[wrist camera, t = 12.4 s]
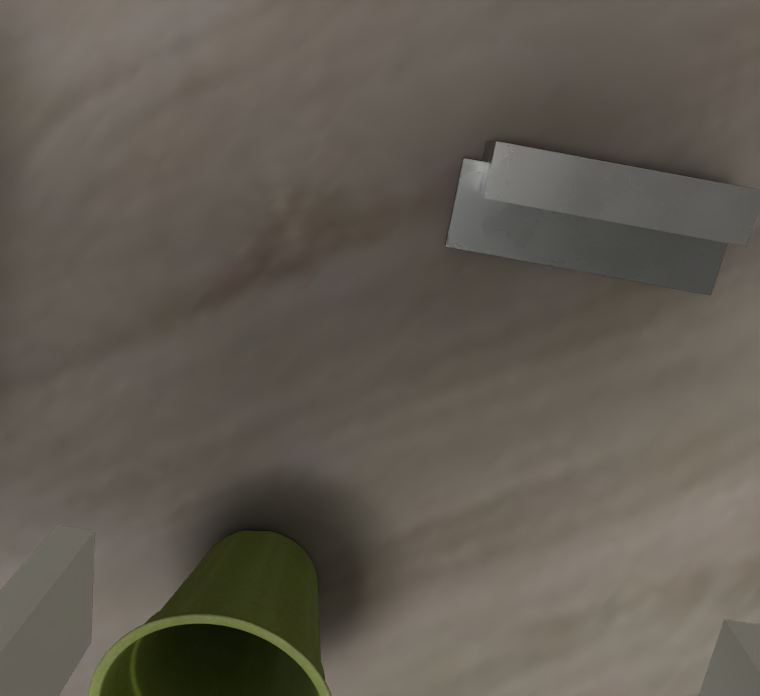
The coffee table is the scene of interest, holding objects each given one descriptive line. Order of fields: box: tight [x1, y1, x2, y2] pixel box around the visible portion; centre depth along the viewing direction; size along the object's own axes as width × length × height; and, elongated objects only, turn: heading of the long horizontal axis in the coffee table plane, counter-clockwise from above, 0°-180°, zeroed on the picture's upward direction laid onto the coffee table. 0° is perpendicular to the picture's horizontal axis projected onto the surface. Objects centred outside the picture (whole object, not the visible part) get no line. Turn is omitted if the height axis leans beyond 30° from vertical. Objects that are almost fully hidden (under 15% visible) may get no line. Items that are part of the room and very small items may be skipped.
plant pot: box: [88, 531, 331, 696], centre depth 39 cm, size 12×12×11 cm
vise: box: [445, 141, 760, 295], centre depth 32 cm, size 14×23×5 cm, turn 170°
